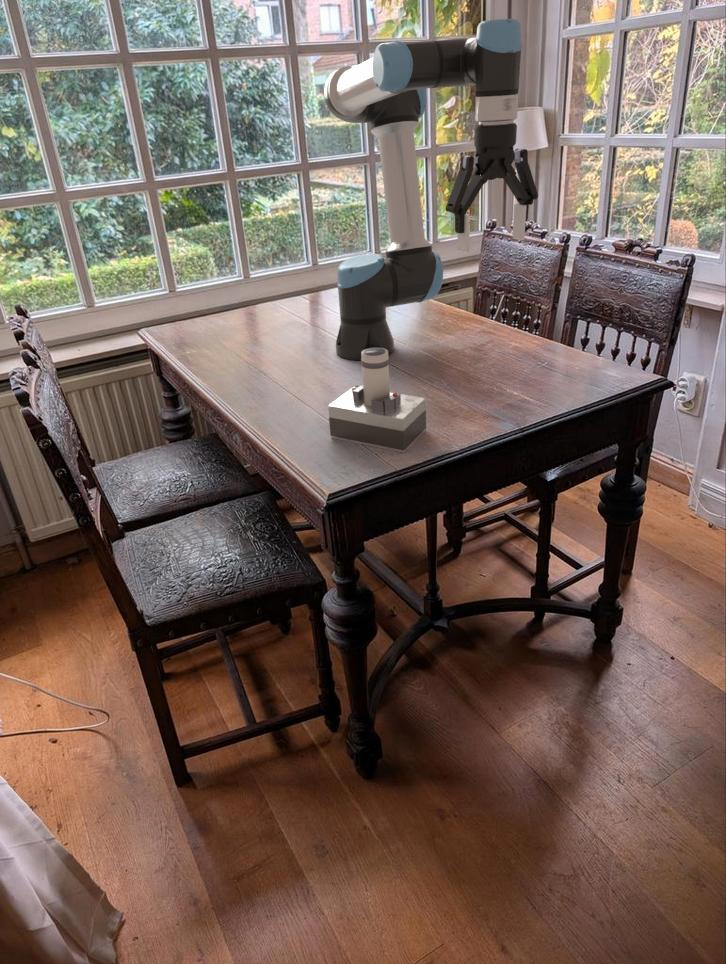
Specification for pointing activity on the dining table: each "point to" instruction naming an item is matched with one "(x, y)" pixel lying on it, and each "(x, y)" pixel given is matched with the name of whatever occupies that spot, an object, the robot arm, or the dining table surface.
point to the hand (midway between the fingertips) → (491, 244)
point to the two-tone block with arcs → (378, 420)
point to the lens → (375, 374)
